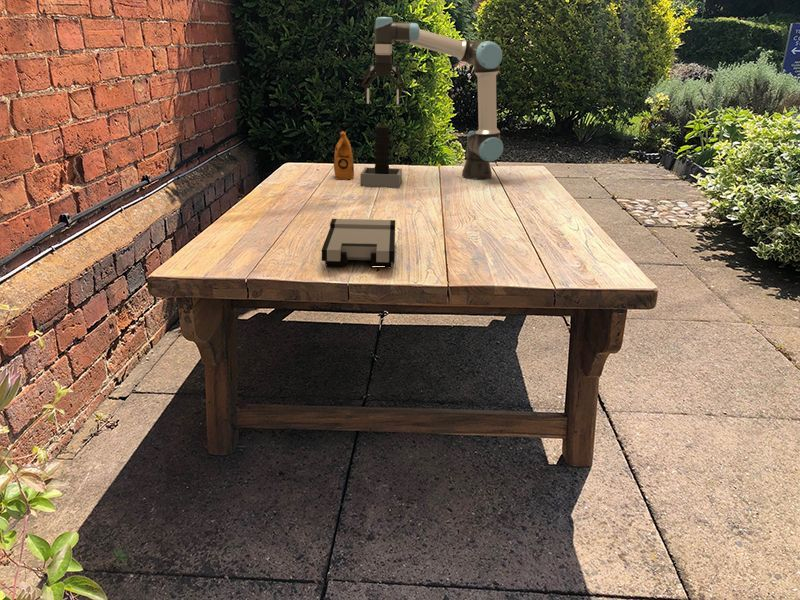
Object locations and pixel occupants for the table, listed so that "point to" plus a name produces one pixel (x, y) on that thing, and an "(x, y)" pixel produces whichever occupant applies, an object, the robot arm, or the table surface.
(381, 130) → the black upright pillar
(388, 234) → the office tray
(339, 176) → the coffee package
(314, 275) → the table surface
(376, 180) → the box
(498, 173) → the table surface
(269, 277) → the table surface
